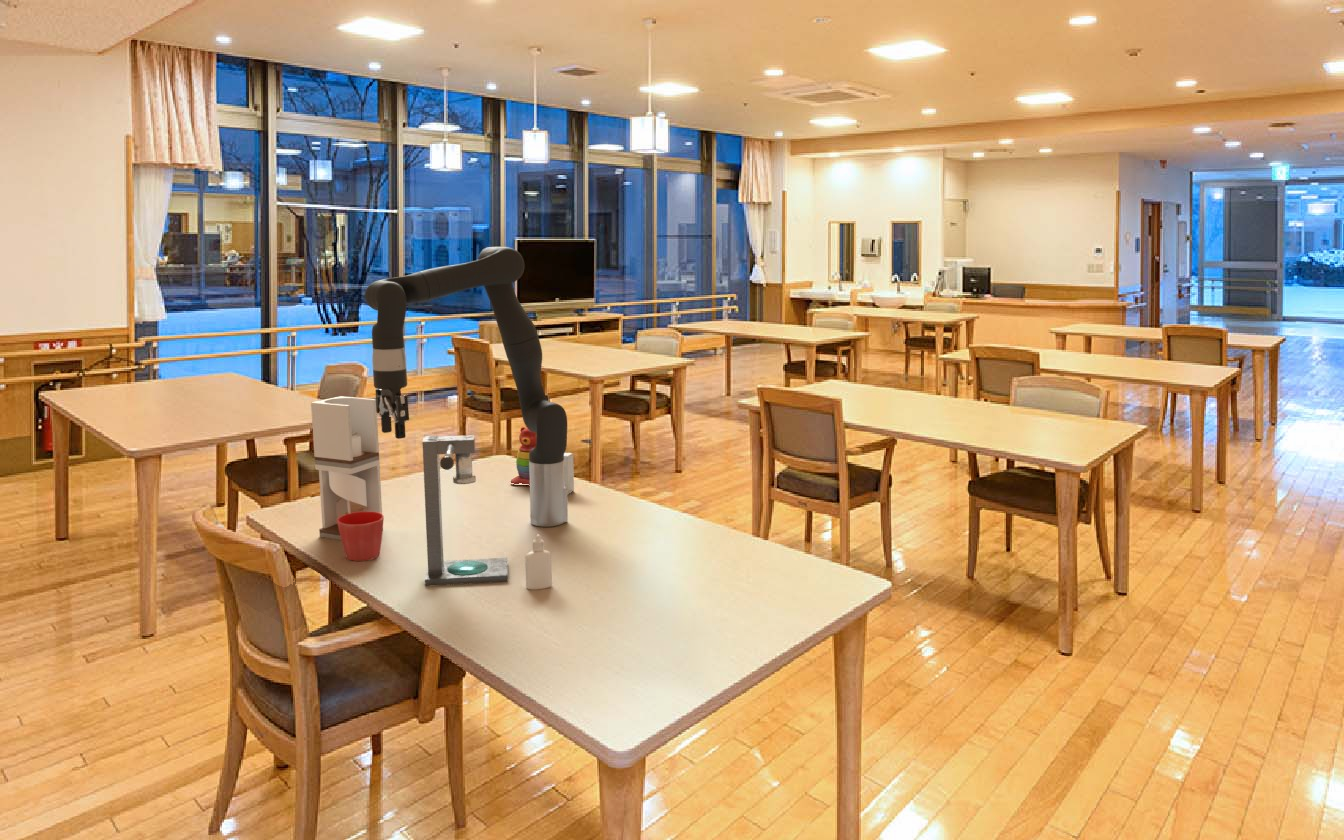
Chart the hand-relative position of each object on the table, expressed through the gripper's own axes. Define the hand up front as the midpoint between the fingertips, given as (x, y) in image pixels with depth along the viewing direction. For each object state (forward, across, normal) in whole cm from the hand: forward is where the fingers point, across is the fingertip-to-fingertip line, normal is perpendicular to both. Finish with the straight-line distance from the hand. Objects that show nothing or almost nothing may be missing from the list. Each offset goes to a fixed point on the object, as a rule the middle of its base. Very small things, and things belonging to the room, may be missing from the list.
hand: (393, 435), depth 223 cm
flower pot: (+30, +4, +8) cm, 31 cm away
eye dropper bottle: (+30, -39, -16) cm, 52 cm away
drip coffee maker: (+30, +23, +4) cm, 38 cm away
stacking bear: (+30, +41, -59) cm, 78 cm away
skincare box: (+30, +26, -61) cm, 73 cm away
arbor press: (+30, -28, -4) cm, 41 cm away
